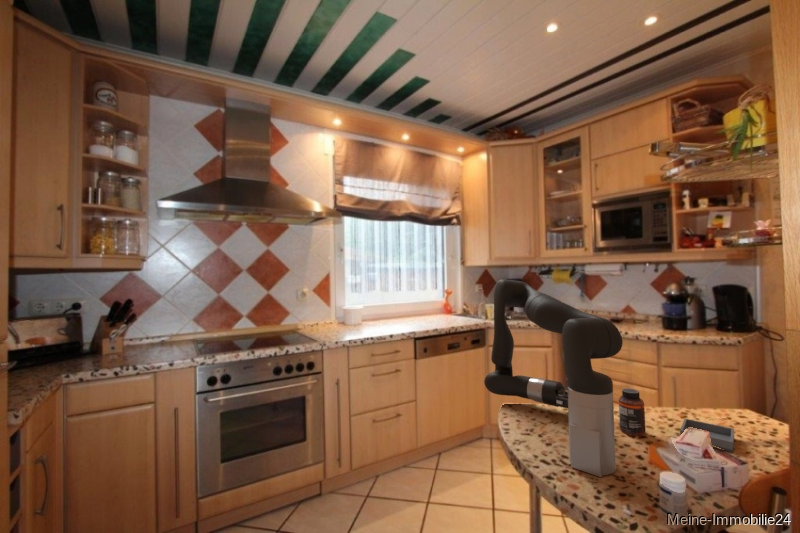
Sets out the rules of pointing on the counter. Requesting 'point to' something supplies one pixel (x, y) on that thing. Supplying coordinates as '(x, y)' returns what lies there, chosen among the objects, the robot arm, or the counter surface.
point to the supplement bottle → (631, 413)
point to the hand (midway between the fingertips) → (601, 403)
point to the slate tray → (713, 433)
